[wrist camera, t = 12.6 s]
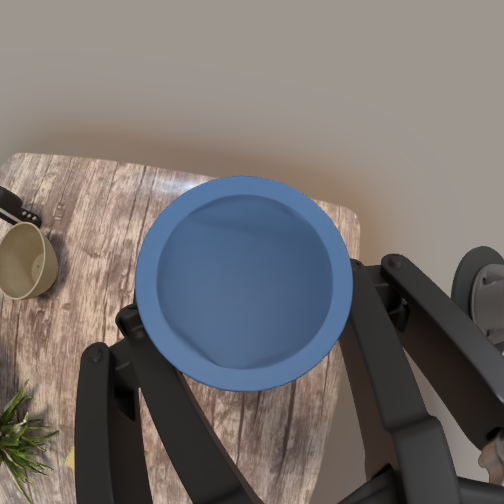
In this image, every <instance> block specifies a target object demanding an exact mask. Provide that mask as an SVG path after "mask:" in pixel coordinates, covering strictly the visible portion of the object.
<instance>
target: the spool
mask: <svg viewBox="0 0 504 504" xmlns="http://www.w3.org/2000/svg"><path fill="white" fill-rule="evenodd" d="M135 293H136V301H137V306H138V311H139V314H140V317H141V320H142V323H143V325H144V328H145V330H146V331H147V333H148V335H149V337H150V339H151V341H152V342H153V344H154V345H155V346H156V348H157V349H158V351H159V352H160V353H161V354H162V355H163V356H164V357H165V358H166V359H167V360H168V361H169V363H171V364H172V365H173V366H174V367H176V368H177V369H178V370H179V371H181V372H182V373H183V374H185V375H187V376H188V377H190V378H192V379H193V380H195V381H198V382H200V383H202V384H205V385H207V386H210V387H214V388H217V389H221V390H226V391H234V392H256V391H263V390H269V389H272V388H276V387H279V386H283V385H285V384H287V383H289V382H292V381H294V380H296V379H298V378H299V377H301V376H303V375H304V374H306V373H307V372H309V371H310V370H311V369H312V368H314V367H315V366H316V365H317V364H318V363H320V362H321V361H322V359H323V358H324V357H325V356H326V355H327V354H328V353H329V352H330V350H331V349H332V348H333V346H334V345H335V343H336V342H337V340H338V339H339V337H340V335H341V333H342V331H343V329H344V327H345V324H346V321H347V318H348V315H349V312H350V307H351V302H352V293H353V276H352V268H351V262H350V258H349V255H348V251H347V248H346V245H345V243H344V241H343V239H342V237H341V235H340V233H339V231H338V229H337V228H336V226H335V225H334V223H333V222H332V220H331V219H330V218H329V217H328V215H327V214H326V213H325V212H324V211H323V210H322V209H321V208H320V207H319V206H318V205H317V204H316V203H315V202H314V201H312V200H311V199H310V198H308V197H307V196H306V195H304V194H303V193H301V192H299V191H298V190H296V189H294V188H292V187H290V186H288V185H285V184H283V183H281V182H277V181H274V180H270V179H267V178H261V177H253V176H234V177H225V178H220V179H216V180H212V181H209V182H206V183H203V184H201V185H199V186H196V187H194V188H192V189H190V190H188V191H187V192H185V193H184V194H182V195H181V196H179V197H178V198H177V199H175V200H174V201H173V202H172V203H171V204H170V205H169V206H167V207H166V208H165V210H164V211H163V212H162V213H161V214H160V215H159V216H158V217H157V219H156V220H155V222H154V223H153V225H152V226H151V228H150V229H149V231H148V233H147V235H146V237H145V239H144V241H143V244H142V247H141V250H140V252H139V256H138V260H137V265H136V273H135Z"/></svg>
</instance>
